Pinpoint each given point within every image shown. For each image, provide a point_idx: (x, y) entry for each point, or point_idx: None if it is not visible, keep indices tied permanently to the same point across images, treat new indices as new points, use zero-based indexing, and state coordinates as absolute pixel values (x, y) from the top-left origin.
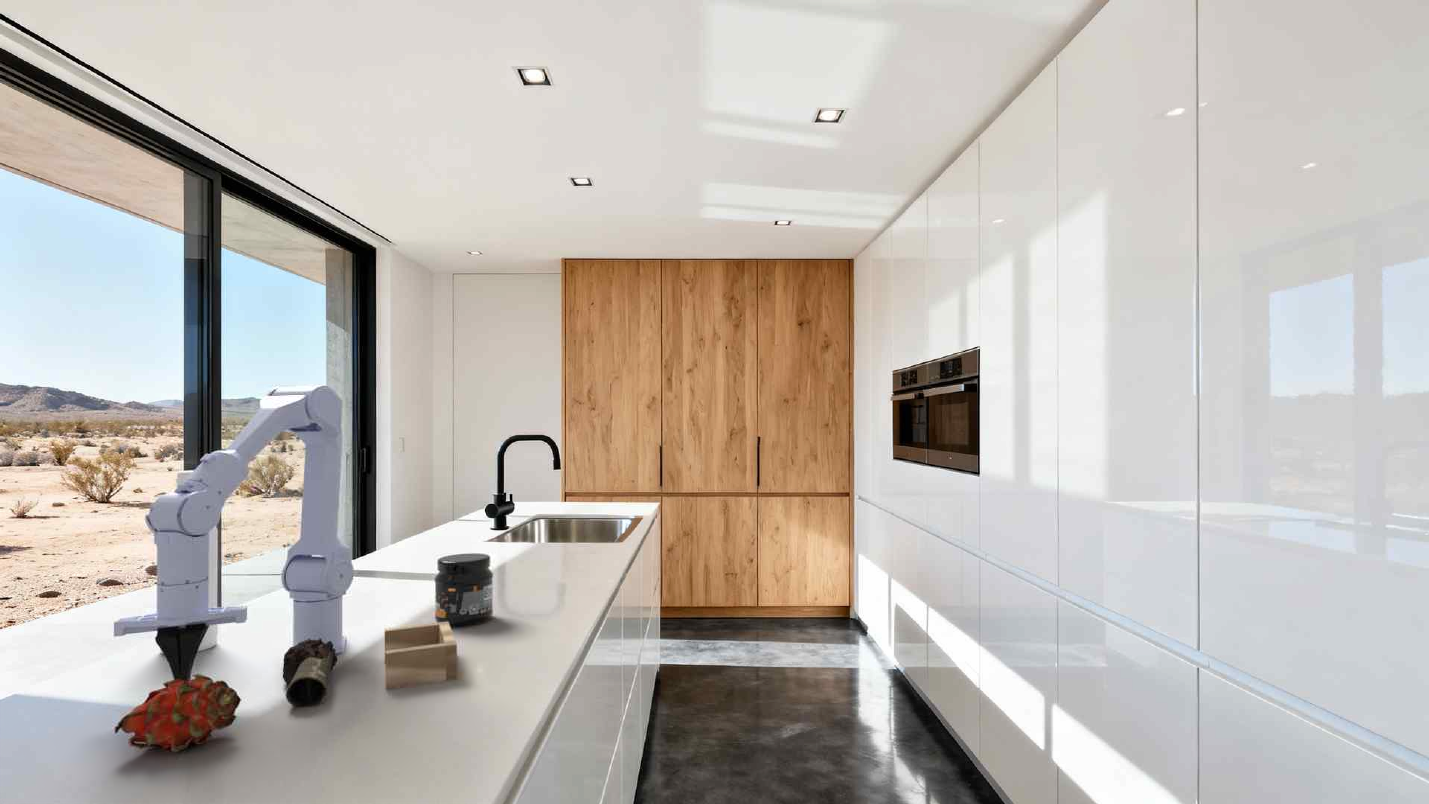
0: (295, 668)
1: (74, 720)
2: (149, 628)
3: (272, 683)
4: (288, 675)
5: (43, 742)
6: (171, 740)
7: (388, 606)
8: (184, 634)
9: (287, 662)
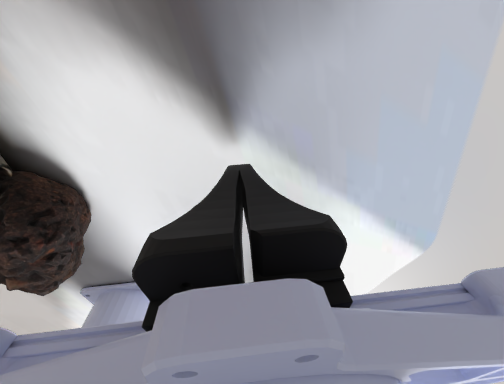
0: (9, 195)
1: (391, 140)
2: (385, 309)
3: (119, 207)
4: (40, 188)
5: (456, 16)
6: None
7: None
8: (208, 244)
9: (38, 218)
